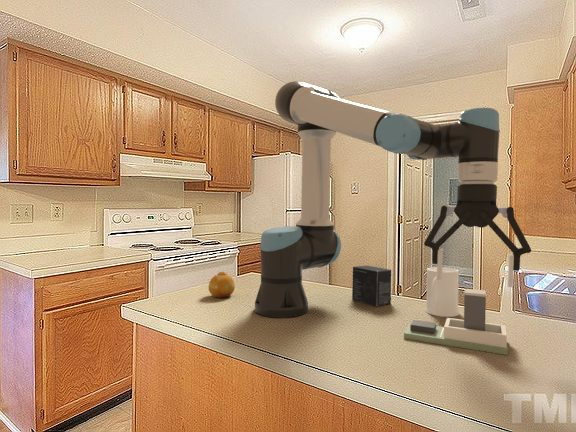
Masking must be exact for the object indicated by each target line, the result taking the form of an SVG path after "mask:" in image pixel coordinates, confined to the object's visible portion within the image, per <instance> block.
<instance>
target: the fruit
mask: <svg viewBox="0 0 576 432" xmlns="http://www.w3.org/2000/svg"><path fill="white" fill-rule="evenodd" d="M235 286H236V285H235V281H234V279H233V278H232V276H230V275H228V274H227V273H226V272H224V271H219V272H218V273H217V274H216V275H213V277H211V278H210V280H209V283H208V292H209V294H211V295H212V296H213V297H214V298H218V297H223V298H228V297H230V296H231V295H232V294H233V293H234V291H235V289H236V287H235Z"/></svg>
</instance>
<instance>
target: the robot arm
mask: <svg viewBox="0 0 576 432" xmlns="http://www.w3.org/2000/svg"><path fill="white" fill-rule="evenodd" d="M275 95H276V96H275V101H274V102H275V103H274V105H275V109H276V112H277V113H278V115H279V117H280V118H281V119H283V120H284V121H286V122H288V123H289V124H290V123H291V124H295V125H297V135H298V136H299V137H300V138H301V141H302V142H301V143H302V153H301V154H302V155H301V197H300V199H301V204H300V205H301V206H300V208H301V209H300V210H301V211H300V218H299V220H297V222H296V223H295V225H287V226H286V225H285V226H278V227H277V226H276V227H273V228H269V229H266V230H264V231H263V232H262V234H261V236H260V246H259V247H260V248H259V250H260V285H259V289H258V291H257V294H256V297H255V301H254V312H255V313H256V314H258V315H261V316H263V317H269V318H279V319H280V318H292V317H293V318H294V317H300V316H302V315H304V314H307V312H308V311H309V301H308V297H307V294H306V291H305V288H304V285H303V271H305V270H309V269H314V268H323V267H326V266H328V265H331V264H333V263H334V262H335V261H336V260H338V259H337V258H338V257H339V255H340V254H341V249H342V242H341V241H342V240H341V237H340V236H339V234H338V232H336V230H335V224H334V222H332V221H331V219H330V193H331V190H330V187H331V185H330V184H331V152H332V151H331V150H332V149H331V148H332V147H331V145H332V144H331V143H332V142H331V141H332V139H333V138H334V137H335V136H336V135H337V133H339V134H342V135H345V136H348V137H350V138H354V139H356V140H359V141H362V142H365V143H369V144H372V145H375V146H378V147H380V148H382V149H383V150H385V151H387V152H390V153H393V154H398V155H399V154H402V155H407V157H408V158H409V159H410V160H414V161H415V160H419V161H427V160H433V159H434V160H435V159H444V158H457V157H458V161H457V163H458V164H457V168H458V169H457V182H459V183H460V184H458V185H457V188H456V189H457V191H456V192H457V194H456V195H457V196H456V205H455V207H454V206H449V205H442V206H441V208H440V213H439V216H438V218H437V220H436V222H435V223H434V225H433V227H432V229H431V230H430V232H429V234H428V236H427V237H426V239H425V240H424V243H423V244H424V246H425V247H428V248H430V249H431V250H432V254H431V255H432V256H431V257H432V259H431V261H432V264H433V265H437V266H436V267H437V280H441V278H442V267H443V253H444V252H443V251H444V249H443V248H440V247H441V246H442V245H443V244H445V242H446V241H447V240H448V239H449V238H450V237H451V236H453V234H454V233H455V232H456V231H457V230H458V229H459V228H460V227H461V226H462V225H464V226H465V227H466V228H473V227H474V228H475V227H476V228H482V229H483V228H486V227H488V226H489V228H490V229H491V230H492V231H493V232H494V233H495V235H496V236H497V237H498V238H499V239H500V240H501V241H502V242H503V243H504V245H505V246H506V247H507V248H508V249H509V250H510V251H511V252H512V253H508V260H507V261H508V264H507V267H508V268H507V287H508V288H511V289H513V287H514V272H515V271H516V272H519V271H520V269H521V256H522V255H524V254H530V253H531V252H532V248H531V246H530V244H529V243H528V241H527V239H526V237H525V235H524V233H523V232H522V229H521V227H520V225H519V223H518V222H517V219H516V218H515V209H514V208H513V207H512V206H507V207H498V204H497V197H498V193H497V192H498V185H497V184H495V182H497V181H498V169H499V168H498V167H499V146H500V145H499V144H500V132H501V129H500V113H499V111H498V110H497V109H496V108H491V107H474V108H470V109H466V110H465V109H464V110H463V111H462V112H461V113H460V115H459V119H458V121H455V122H452V123H443V124H433V123H430V122H428V121H424V120H421V119H416V118H415V117H412V116H410V115H406V114H402V113H395V112H391V111H389V110H384V109H380V108H377V107H376V108H375V107H372V106H368V105H364V104H360V103H357V102H352V101H349V100H346V99H341V97H340V96H339V95H338V94H337V93H335V92H332V91H331V90H329V89H326V88H322V87H318V86H316V85H312V84H309V83H306V82H303V81H295V80H294V81H293V80H292V81H290V82H287V83H285V84H284V85H282V86H281V87H280V88H279V89H278V91H277V93H276V94H275ZM452 213H454V214H455V215H456V216H457V218H458V220H457V221H455V223H454V224H453V225H452V226H451V227H450V228H449V229H448V230H447V231H446V232H445V233H444V234H443V235H442V236H441V237H439V239H438V240H437V241H436V242H434V239H435V237H436V235H437V234H438V233H439V230H440V229H441V227H442V226H443V225H444V222H445V220H446V219H447V217H449V216H450V215H452ZM499 214H501V216H502V217H503V218H506V219H507V222H508V223H509V225H510V227H511V229H512V231H513V233H514V234H515V236H516V238H517V240H518V242H519V244H520V246H521V247H517V246H516V244H515V243H513V241H512V239H510V238H509V237H508V235H506V234H505V233H504V231H503V230H502V229H501V228H500V227H499V226H498V225H497V223H496V222H495V221H494V219H495V218H496V217H497V215H499Z"/></svg>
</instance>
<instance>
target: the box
mask: <svg viewBox="0 0 576 432" xmlns="http://www.w3.org/2000/svg"><path fill="white" fill-rule="evenodd" d="M351 293H352V294H351V297H352V300H353V301H357V302H360V303H363V304H367V305H371V306H374V307H380V306H381V307H382V306H384V305H389V304H391V303H392V299H391V297H392V269H390V268H383V267H377V266H371V265H357V266H353V267H352V292H351Z"/></svg>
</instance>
